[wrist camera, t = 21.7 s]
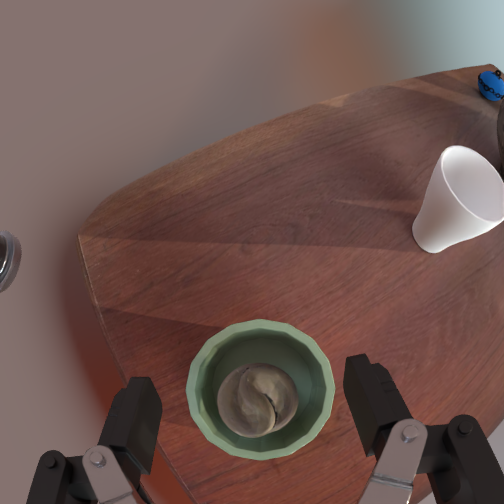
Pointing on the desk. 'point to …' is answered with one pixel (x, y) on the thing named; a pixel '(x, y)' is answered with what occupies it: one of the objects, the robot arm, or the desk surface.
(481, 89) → the ornament
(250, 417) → the light bulb
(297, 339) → the pot
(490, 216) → the cup
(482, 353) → the desk surface
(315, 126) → the desk surface
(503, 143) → the clay pot
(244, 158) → the desk surface
